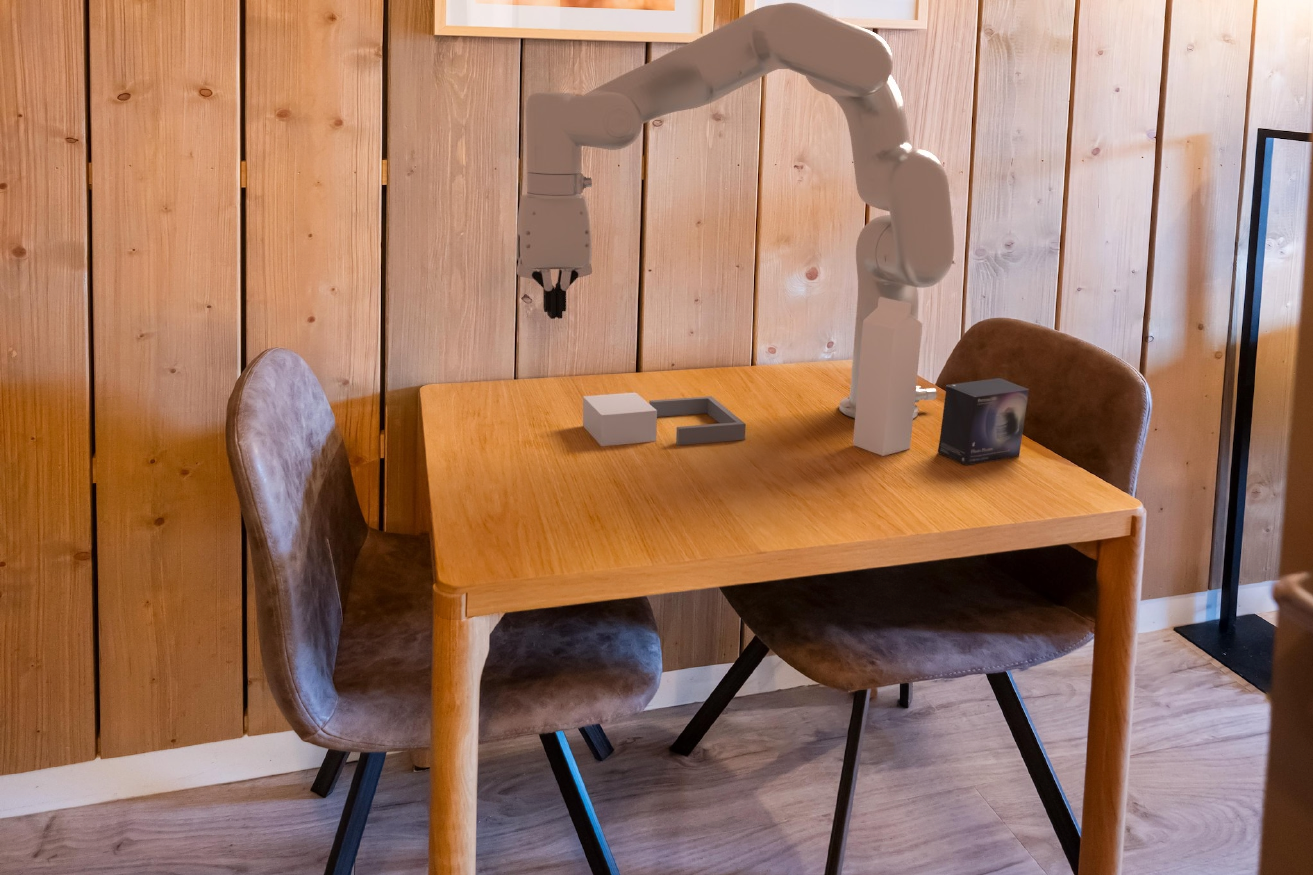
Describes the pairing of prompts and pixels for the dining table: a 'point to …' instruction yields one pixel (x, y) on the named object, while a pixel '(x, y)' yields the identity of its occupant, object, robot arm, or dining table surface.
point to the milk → (887, 378)
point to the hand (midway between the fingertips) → (554, 316)
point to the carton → (619, 419)
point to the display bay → (724, 431)
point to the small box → (983, 421)
